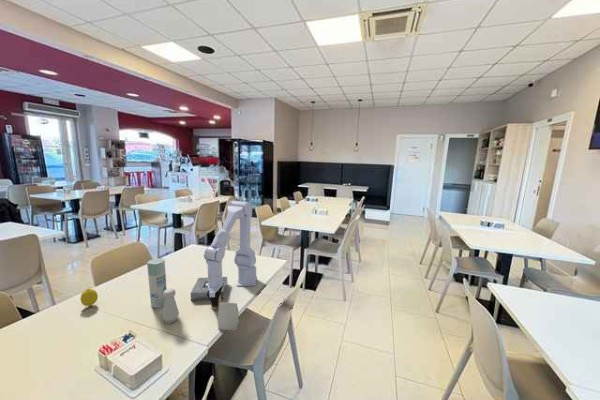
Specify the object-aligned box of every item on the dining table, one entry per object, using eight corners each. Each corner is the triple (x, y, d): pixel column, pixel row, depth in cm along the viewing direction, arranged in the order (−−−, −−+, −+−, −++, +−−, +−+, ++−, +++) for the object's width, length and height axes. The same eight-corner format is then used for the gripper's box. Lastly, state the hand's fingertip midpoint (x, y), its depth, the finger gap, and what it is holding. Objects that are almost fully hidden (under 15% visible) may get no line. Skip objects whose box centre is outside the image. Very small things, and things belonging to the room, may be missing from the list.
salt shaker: (182, 317, 102) (180, 288, 100) (171, 326, 97) (169, 295, 94) (171, 314, 104) (169, 285, 102) (159, 322, 98) (157, 292, 96)
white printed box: (235, 330, 96) (235, 306, 94) (218, 329, 96) (217, 305, 94) (238, 324, 99) (238, 300, 98) (221, 323, 100) (221, 300, 98)
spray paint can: (160, 309, 107) (156, 265, 103) (147, 307, 108) (143, 263, 105) (170, 300, 113) (168, 259, 110) (158, 298, 114) (155, 257, 111)
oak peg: (221, 304, 112) (221, 289, 110) (220, 309, 108) (219, 294, 106) (212, 304, 111) (211, 290, 110) (210, 310, 107) (209, 295, 106)
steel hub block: (227, 284, 129) (227, 276, 128) (223, 299, 115) (222, 291, 115) (198, 285, 127) (198, 277, 126) (191, 301, 113) (190, 292, 113)
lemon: (101, 304, 109) (99, 287, 108) (86, 311, 104) (83, 293, 103) (94, 301, 111) (92, 284, 110) (79, 307, 106) (76, 290, 105)
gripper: (208, 266, 113) (209, 294, 115) (200, 283, 99) (202, 314, 101) (225, 266, 114) (225, 293, 116) (219, 282, 100) (220, 313, 102)
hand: (216, 303), depth 109 cm, fingers closed on oak peg, 4 cm apart
